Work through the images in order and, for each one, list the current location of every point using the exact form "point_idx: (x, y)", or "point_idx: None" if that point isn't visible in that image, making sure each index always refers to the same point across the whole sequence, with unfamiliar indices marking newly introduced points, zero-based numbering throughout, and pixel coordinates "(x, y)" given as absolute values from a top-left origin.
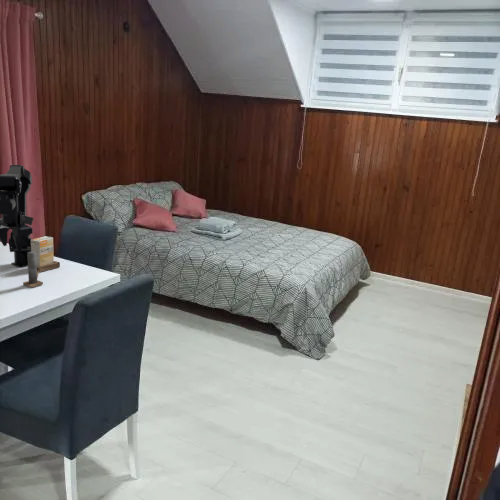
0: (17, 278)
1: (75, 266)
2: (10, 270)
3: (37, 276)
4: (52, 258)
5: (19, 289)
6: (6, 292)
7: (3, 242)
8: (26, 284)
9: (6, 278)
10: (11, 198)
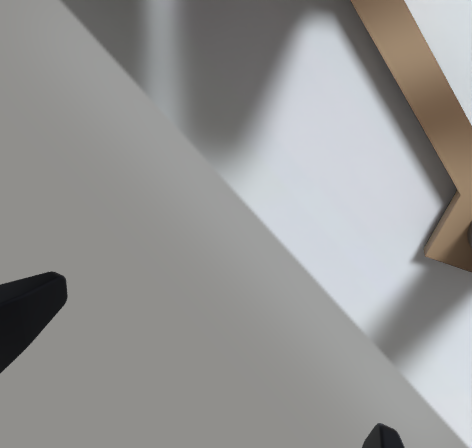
0: (300, 157)
1: None
2: (150, 49)
3: (445, 79)
4: None
5: (446, 311)
6: (400, 359)
7: (23, 338)
8: (465, 266)
9: (244, 186)
10: None
